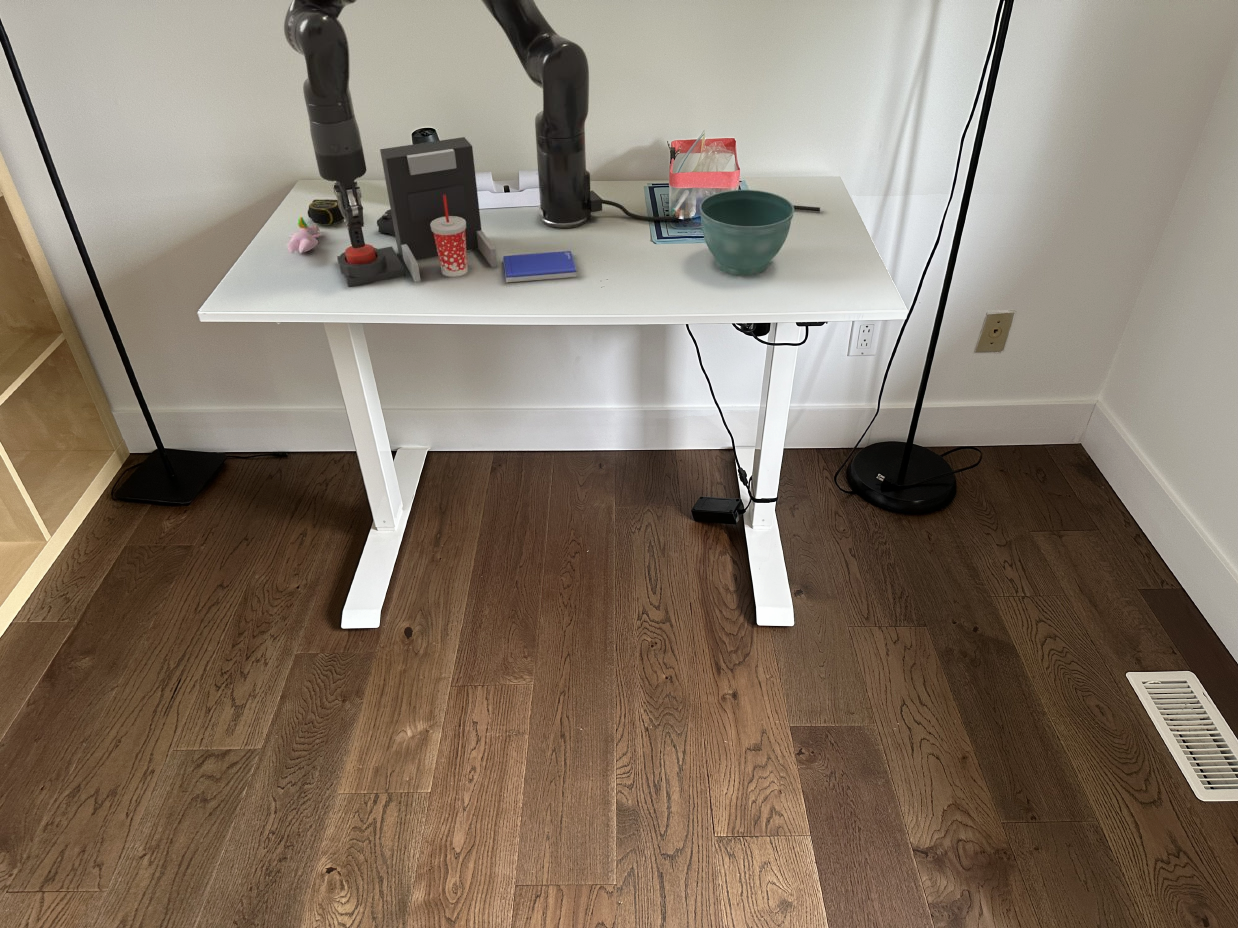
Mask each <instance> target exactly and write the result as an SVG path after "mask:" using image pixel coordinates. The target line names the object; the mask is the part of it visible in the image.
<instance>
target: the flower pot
mask: <svg viewBox="0 0 1238 928" xmlns="http://www.w3.org/2000/svg"><path fill="white" fill-rule="evenodd" d="M699 213H700V214H701V217H700V223H701V231H702V235H703V239H704V241H705V244H706V246H707V249H708V250H709V252H710V254H711V255H712V257H713V258H714V259H715V264H716V266H717V268H718V269H719V270H720V271H722V272H724V273H726V274H730V275H735V276H752V275H758V274H761V273H763V272H764V271H766V270H767V269H768V268H769V266H770V262H771V261H772V260H773V259H774V258H775V257H776V256H777V255H778V254H779V253H780V251H781V249H782V247H783V246H784V244H785V242H786V240H787V238H788V235H789V233H790V229H791V225H792V224H791V223H792V220H793V217H794V214H795V210H794V207H793V203H792V202H791V201H790V200H788V199H787V198H785V197H783V196H781V195H779V194H776V193H773V192H769V191H764V190H759V189H758V190H757V189H733V190H726V191H721V192H716V193H713V194H711V195H709V196H707V197H705V198H704V199H703V200H702V201H701V202H700V205H699Z"/></svg>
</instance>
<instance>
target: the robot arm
mask: <svg viewBox="0 0 1238 928" xmlns="http://www.w3.org/2000/svg"><path fill="white" fill-rule="evenodd" d="M480 1H481V2H482V3H483V5H484V7H485V8H486V9H487V11H488V12H489V13H490V15H491V16H492V17H493V19H494V20H495V21H496V22H497V24H498V25H499V26H500V28H501V29H502V31H503V32H504V34H505V35H506V38H507V39H508V41H509V43H510V45H511V48H512V49H513V50H514V52H515V54H516V56H517V58H518V60H519V62H520V64H521V66H522V68H523V70H524V71H525V73H526V75H527V76H528V78H529V79H530V81H531V82H532V83H534V85H536V87H539V88H541V89H542V110H541V111H539V112H538V113H537V114H536V115H535V117H534V129H535V130H534V132H535V146H536V159H537V160H536V161H537V177H538V191H539V192H538V194H539V205H538V207H537V208H538V212H539V216H540V222H541V223H542V224H544V225H546V226H548V227H552V228H557V229H568V228H574V227H578V226H582V225H583V224H585V223H586V222H588V221H589V222H590V221H592V213H596V212H597V213H598V212H602V211H603V205H608V206H611V207H614V208H618V209H619V210H620V211H622V212H623V214H625V216H627V217H629V218H632V219H636V220H640V221H645V222H672V221H674V222H675V221H682V220H681V219H678V218H676V217H671V216H672V215H668V216H667V215H666V216H644V215H639V214H635V213H632V212H630V211H629V210H628V209H627V208H626V207H625V206H623V205H622V204H621V203H618V202H616V201H612V200H607V199H603V198H602V197H600V195H598V194H597V193H596V192H595V191H594V190H591V173H590V172H589V171H588V170H587V156H586V120H587V118H588V114H589V108H590V106H589V105H590V70H589V68H590V66H589V61H588V57H587V55H586V52H585V50H584V49H583V48H582V47H581V46H580V45H579V44H577V43H576V42H574V41H572V40H570V39H568V38H565V37H564V36H561V35H559V34H558V33H557V32H556V30H554V28H553V27H552V26H551V24H550V23H549V22H548V20H547V19H546V17H544V15H543V13H542V12H541V10H540V9H539V8H538V6H537V4H536V1H535V0H480ZM356 2H357V0H291V2H290V4H289V6H288V9H287V11H286V14H285V18H284V20H283V21H284V22H283V32H284V33H283V34H284V37H285V39H286V42H287V43H288V45H289V46H290V47H291V49H292V50H293V51H295V52H296V53H298V54H299V55H302V56H304V61H305V65H306V74H307V78H306V79H305V80H304V82H303V84H302V85H303V86H302V93H303V98H304V101H305V107H306V111H307V116H308V122H309V132H310V137H311V142H312V146H313V151H314V155H315V160H316V164H317V169H318V174H319V176H320V177H321V178H322V179H323V180H326V181H328V182H334V184H332V189H333V193H334V195H335V197H336V200H337V201H338V205H339V209H340V211H341V213H342V216H343V217H344V219H343V222H344V224H345V226H346V228H347V232H348V236H349V242H350V246H352V247H353V248H361V247H364V246H365V244H366V242H365V237H364V232H363V227H365V221H364V206H363V204H362V191H361V187H360V186H359V184H358V182H357V181H356V180H357V179H358V178H362V177H363V176H365V174H366V173H367V165H366V159H365V153H364V148H363V142H362V138H361V132H360V128H359V124H358V121H357V119H356V115H355V109H354V104H353V103H354V102H353V98H352V94H351V90H350V72H351V71H350V69H351V68H350V66H351V65H350V60H351V59H350V46H349V40H348V36H347V34H346V30H345V28H344V26H343V24H342V23H341V21H340V20H339V19H338V18H339V17H340V16H341V13H342V12H343V10H344V8H345V7H347V6H349V5H353V4H354V3H356ZM792 205H793V204H792ZM793 207H794V211H807V212H820V211H821V207H820V206H805V205H795V204H794V205H793Z"/></svg>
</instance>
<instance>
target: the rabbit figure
mask: <svg viewBox="0 0 1238 928" xmlns="http://www.w3.org/2000/svg"><path fill="white" fill-rule="evenodd" d="M297 226H298V228H299V229H298V231H297V232H295V233H294V234H289V236H288V237H289V238H291V239H290V240H289V241H288V242H287V243H286V248H287V250H288V251H289V253H290V254H291V255H293V254H295V252H299V254H302V253H307V252H310V250H312V249H314V248H315V247H316V246H318V244H319V241H318V239H317V238H320V237H322V236H324V232H321V230H320V229H319V226H318V224H316V223H315V224H314V226H313V225H308V223H307V222H306V221H305V220H304V218H303V216H300V217H299V218H298V222H297Z"/></svg>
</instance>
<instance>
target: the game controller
mask: <svg viewBox="0 0 1238 928" xmlns="http://www.w3.org/2000/svg"><path fill="white" fill-rule="evenodd" d="M376 225H377V227H378V231H377V232H378V233H379V234H382V235H384V234H389V235H392V236H393V237H395V238H396V236H395V231H394V225H393V220H392V214H391V208H389V209H388V210H387V209H386V211H385V212H384V213H383V214H382V216H380V217H379V218H378V219H377V220H376Z"/></svg>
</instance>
